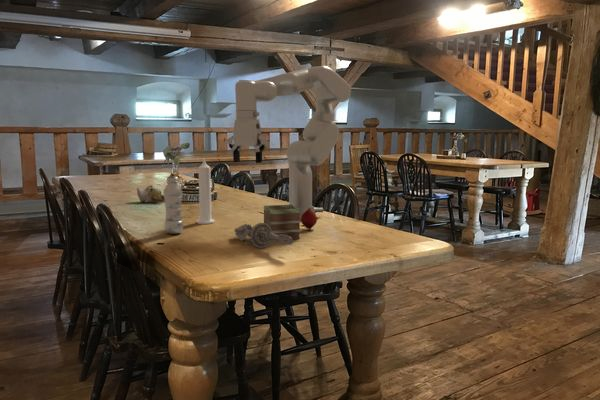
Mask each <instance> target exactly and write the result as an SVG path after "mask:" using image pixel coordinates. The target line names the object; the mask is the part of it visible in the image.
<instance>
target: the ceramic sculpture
mask: <svg viewBox="0 0 600 400" xmlns="http://www.w3.org/2000/svg"><path fill="white" fill-rule="evenodd" d="M136 190H137V193H136V194H137V197H138V198H139V202H141V203H144V202H149V203H153V202H155V203H161V202H165V199H164V194H162V191H161V190H160V189H159V188H158V187H154V186H153V185H148V186H147V187H146V188H145V189H143V188H140V187H137V188H136Z"/></svg>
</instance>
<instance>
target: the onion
mask: <svg viewBox="0 0 600 400" xmlns="http://www.w3.org/2000/svg"><path fill="white" fill-rule="evenodd" d="M317 217H318V216H317V214H316V213H314V212H313V211H311V208H308V209H307V211H305V212H304V213H303V214H302V217H301V220H300V223H301V224H302V225H303V226H304V227H305V229H307V230H310V229H312V228H313V227H315V225H316V224H317V221H318V218H317Z"/></svg>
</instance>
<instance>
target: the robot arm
mask: <svg viewBox="0 0 600 400" xmlns="http://www.w3.org/2000/svg"><path fill="white" fill-rule="evenodd" d="M234 86H235V88H234V90H235V94H234V95H235V119H234V123H233V131H232V133H233V134H232V136H230V137H229V138H227V139H226V141H227V145H228V147H229V148H230V149H231V151H232V157H233V162H234V163H238V162H241V156H240V155H241V154H240V152H241V151H240V148H241V147H243V148H244V147H245V148H246V147H249V148H252V147H253V148H254V149H255V150H256V151H255V163H256V164H259V163H260V164H261V163H263V152H264V150H265V148H266V147H267V145H268V143H269V139H268V138H266V137H264V136H263V135H262V127H261V123H260V122H261V121H260V119H258V117H259V116H260V112H259V111H258V110H257V107H258V106H257V103H266V102H268V103H269V102H271V101H273V100H274V99H276V97H285V96H291V95H295V94H299V93H301V92H305V91H308V90H312V89H314V98H315V103H316V104H315V105H316V110H315V111H314V114H313V115H312V116H311V118H310V119H309V121H308V122H307V123H306V125H305V126H304V129H303V131H302V138H303V140H295V141H292V142H291V143H290V144H289V145H288V146H287V149H286V159H287V162H288V177H289V178H288V179H289V181H288V182H289V183H288V205H293V206H295V207H297V208H299V209H300V221H301V217H302V214H303V213H304V212H305V211H307V209H308V208H311V211H313V212H314V213H315V214H316V213H323V212H324V208H323V207H315V206H313V171H312V168H311V166H320V165H322V164H323V163H325V161H326V159H327V158H328V157H329V155H330V153H331V152H332V151H333V149H334V148H335V145H336V144H337V142H338V140H339V136H340V128H339V127H338V124H336V122H334V120H335V117H336V116H335V115H336V114H335V110H334V106H333V103H344V102H346V101H348V100H349V98H350V97H351V95H352V91H351V87H350V85H349V82H347V81H346V80H345V79H344V78H343V77H341V75H340V74H338V73H337V72H336V71H335V70H333V69H332V68H330V67H329V66H327V65H319V66H318V65H317V66H308V67H304V68H301V69H298V70H294V71H293V70H292V71H289V72H285V73H282V74H278V75H273V76H270V77H266V78H262V79H258V80H257V79H256V80H255V81H254V80H253V81H252V80H240V81H237V82H235V85H234Z"/></svg>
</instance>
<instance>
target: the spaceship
mask: <svg viewBox="0 0 600 400" xmlns="http://www.w3.org/2000/svg"><path fill="white" fill-rule="evenodd" d="M264 229H265V230H266V232H264ZM268 229H269V230H268ZM261 230H262V231H261ZM234 233H235V236H236V237H237V238H238V239H239V240H240V242H243V243H244V242H245V243H249V242H251V243H252V245H253V246H254V247H256V248H258V249H264V248H266V247H268V246H269V245H270V244H272V245H274V244H276V242H280V243H282V244H284V245H292V244H294V239H292V238H291V237H289V236H287V235H281V234H280V235H276V234H274V233H272V230H271V228H270V226H269V225H267V224H266V223H264V222H259V223H256V224H255V225H254V226H252V225H251V224H247V223H245V224H242V225H240V226H239V227H237V228H236V227H235V229H234ZM247 236H248V237H249V239H246V238H247ZM245 239H246V240H245Z"/></svg>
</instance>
